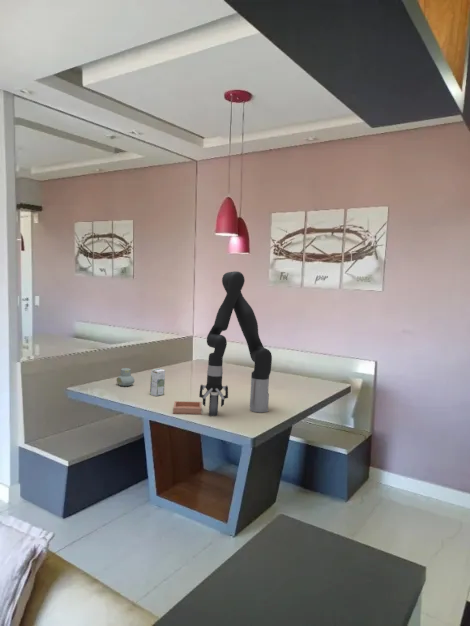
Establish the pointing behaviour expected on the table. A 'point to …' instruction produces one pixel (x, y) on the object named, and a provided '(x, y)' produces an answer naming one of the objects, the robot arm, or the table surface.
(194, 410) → the tray
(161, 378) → the syrup box
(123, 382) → the air freshener
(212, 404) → the shaker
